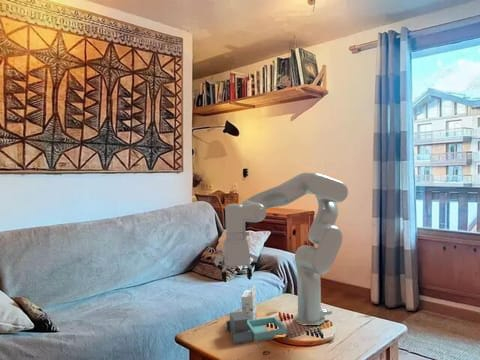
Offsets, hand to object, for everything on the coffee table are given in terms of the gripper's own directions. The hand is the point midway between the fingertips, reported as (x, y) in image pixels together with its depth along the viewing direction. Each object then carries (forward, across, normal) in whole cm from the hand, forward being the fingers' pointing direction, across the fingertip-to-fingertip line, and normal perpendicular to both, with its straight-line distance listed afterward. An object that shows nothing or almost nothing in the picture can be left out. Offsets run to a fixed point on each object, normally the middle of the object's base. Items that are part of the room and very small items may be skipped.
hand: (236, 280), depth 151 cm
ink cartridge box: (+22, -8, -13) cm, 27 cm away
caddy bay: (+22, 0, 0) cm, 22 cm away
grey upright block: (+22, 0, 0) cm, 22 cm away
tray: (+22, -11, 0) cm, 25 cm away
